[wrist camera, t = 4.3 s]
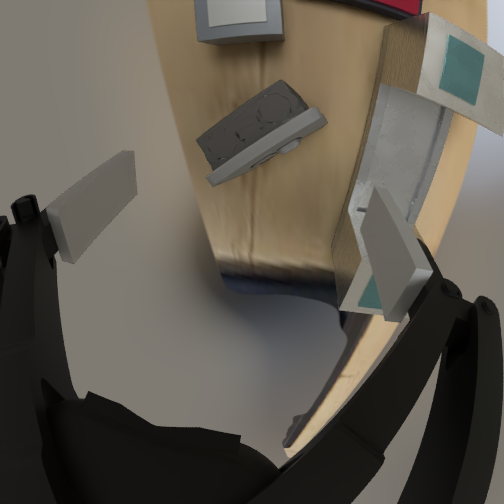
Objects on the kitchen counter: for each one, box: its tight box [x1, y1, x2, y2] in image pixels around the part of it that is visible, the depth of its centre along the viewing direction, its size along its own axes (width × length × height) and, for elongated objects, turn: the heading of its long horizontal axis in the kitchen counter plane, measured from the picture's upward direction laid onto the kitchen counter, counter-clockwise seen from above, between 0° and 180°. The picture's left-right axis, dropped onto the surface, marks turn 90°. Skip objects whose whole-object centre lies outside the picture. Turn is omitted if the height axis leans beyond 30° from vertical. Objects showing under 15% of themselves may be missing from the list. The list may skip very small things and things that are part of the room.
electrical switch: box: [196, 80, 328, 187], centre depth 21 cm, size 9×5×9 cm, turn 127°
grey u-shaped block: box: [331, 12, 504, 318], centre depth 20 cm, size 8×25×10 cm, turn 174°
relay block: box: [194, 0, 285, 45], centre depth 16 cm, size 6×5×6 cm
